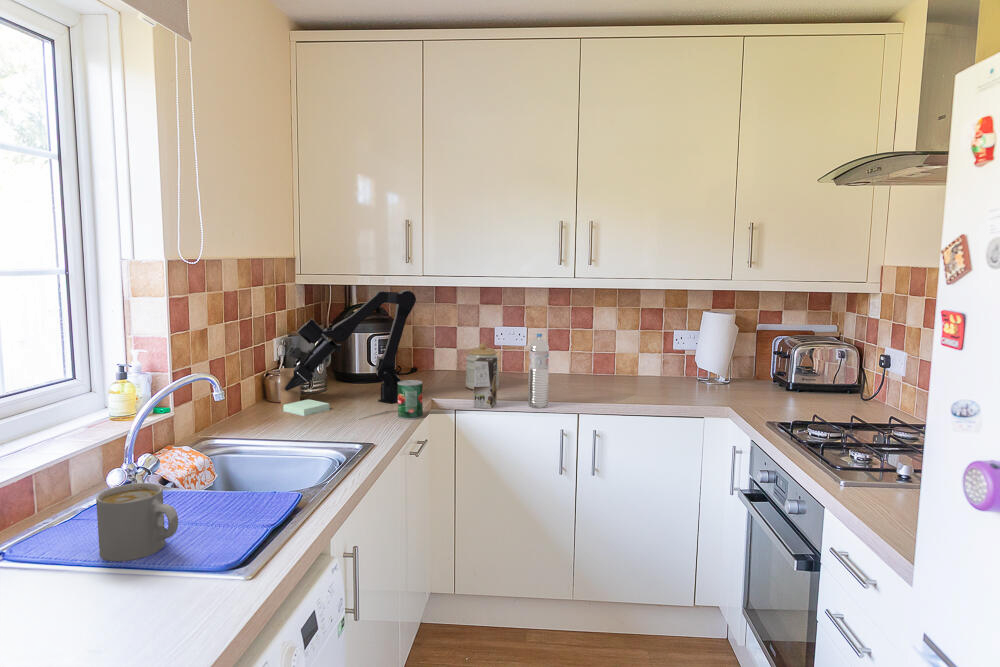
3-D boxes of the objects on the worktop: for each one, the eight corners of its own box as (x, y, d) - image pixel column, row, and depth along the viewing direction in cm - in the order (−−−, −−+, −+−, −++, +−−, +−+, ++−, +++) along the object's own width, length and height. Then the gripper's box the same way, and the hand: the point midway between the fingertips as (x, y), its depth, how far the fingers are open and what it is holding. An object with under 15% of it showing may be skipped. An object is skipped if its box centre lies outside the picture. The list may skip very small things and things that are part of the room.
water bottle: (541, 409, 220) (543, 335, 217) (524, 406, 224) (525, 334, 221) (551, 405, 226) (552, 333, 223) (534, 402, 230) (535, 332, 227)
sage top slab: (329, 409, 211) (329, 403, 211) (304, 415, 203) (304, 409, 202) (308, 405, 216) (308, 399, 216) (283, 410, 208) (283, 404, 208)
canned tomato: (427, 416, 208) (427, 382, 207) (406, 420, 203) (406, 385, 202) (413, 412, 214) (413, 379, 213) (392, 415, 209) (392, 381, 208)
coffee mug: (85, 555, 111) (82, 498, 110) (136, 532, 120) (133, 479, 119) (145, 569, 106) (142, 510, 105) (193, 544, 116) (190, 489, 115)
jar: (467, 384, 261) (467, 340, 259) (499, 385, 260) (500, 341, 258) (464, 391, 248) (464, 345, 246) (498, 391, 248) (499, 345, 245)
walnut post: (300, 403, 224) (299, 367, 222) (300, 407, 218) (299, 370, 217) (281, 404, 222) (280, 368, 221) (281, 408, 217) (280, 371, 215)
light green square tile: (331, 415, 211) (331, 409, 211) (303, 422, 202) (303, 416, 202) (309, 410, 217) (309, 404, 217) (281, 417, 208) (281, 411, 208)
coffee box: (491, 408, 220) (492, 361, 218) (473, 407, 221) (473, 360, 220) (497, 402, 229) (497, 357, 227) (479, 401, 230) (479, 356, 228)
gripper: (301, 333, 227) (268, 366, 226) (301, 340, 210) (265, 376, 208) (325, 355, 231) (293, 387, 229) (327, 364, 213) (292, 399, 211)
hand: (285, 387), depth 219 cm, fingers open, 9 cm apart
